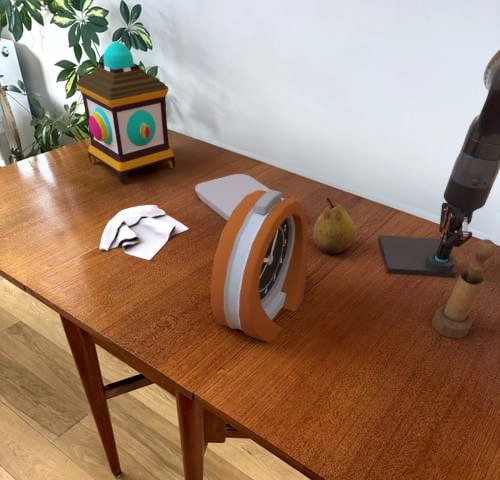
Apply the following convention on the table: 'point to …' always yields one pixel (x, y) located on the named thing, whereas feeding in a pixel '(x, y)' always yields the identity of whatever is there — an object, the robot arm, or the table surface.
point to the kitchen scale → (414, 257)
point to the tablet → (227, 192)
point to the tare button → (441, 260)
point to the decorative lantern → (125, 114)
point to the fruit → (333, 230)
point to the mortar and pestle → (463, 296)
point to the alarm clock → (260, 264)
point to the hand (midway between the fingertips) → (441, 257)
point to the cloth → (140, 231)
